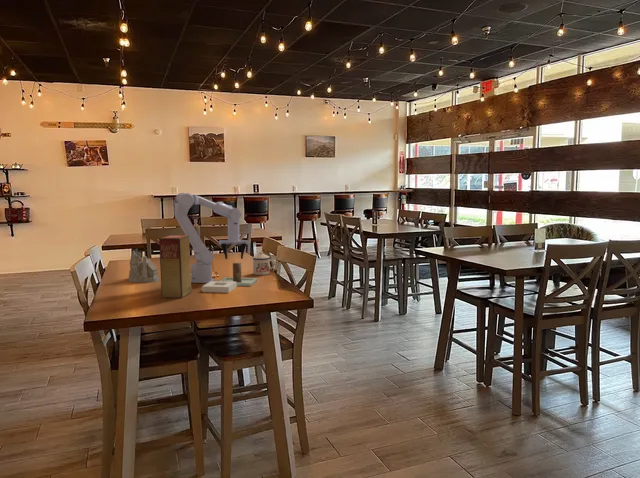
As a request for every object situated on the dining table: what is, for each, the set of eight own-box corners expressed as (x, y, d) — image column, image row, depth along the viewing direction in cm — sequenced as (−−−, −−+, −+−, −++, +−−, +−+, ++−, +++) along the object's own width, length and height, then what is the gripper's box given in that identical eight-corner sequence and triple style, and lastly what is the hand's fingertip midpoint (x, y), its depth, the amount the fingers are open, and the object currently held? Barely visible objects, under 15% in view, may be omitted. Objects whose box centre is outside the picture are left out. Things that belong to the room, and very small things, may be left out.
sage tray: (217, 285, 220) (217, 282, 220) (225, 280, 232) (224, 277, 232) (250, 286, 218) (250, 283, 218) (256, 281, 230) (256, 278, 230)
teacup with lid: (255, 275, 244) (254, 253, 242) (251, 272, 252) (250, 251, 251) (277, 274, 248) (277, 252, 247) (272, 271, 256) (272, 250, 255)
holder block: (202, 291, 206) (202, 286, 206) (211, 286, 218) (211, 280, 218) (228, 292, 205) (228, 287, 205) (236, 286, 217) (236, 281, 217)
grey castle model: (149, 283, 224) (148, 251, 224) (121, 282, 229) (120, 251, 229) (169, 279, 239) (168, 249, 239) (142, 278, 244) (141, 249, 243)
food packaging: (171, 291, 208) (169, 234, 205) (192, 291, 208) (190, 234, 205) (160, 298, 195) (158, 238, 192) (182, 298, 195) (180, 238, 192)
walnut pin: (231, 282, 223) (231, 264, 222) (234, 281, 227) (234, 262, 226) (239, 283, 223) (239, 264, 222) (242, 281, 227) (242, 262, 225)
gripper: (217, 232, 230) (218, 260, 232) (247, 232, 231) (247, 259, 233) (219, 231, 237) (220, 257, 239) (248, 231, 238) (249, 257, 240)
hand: (234, 258), depth 236 cm, fingers open, 7 cm apart
